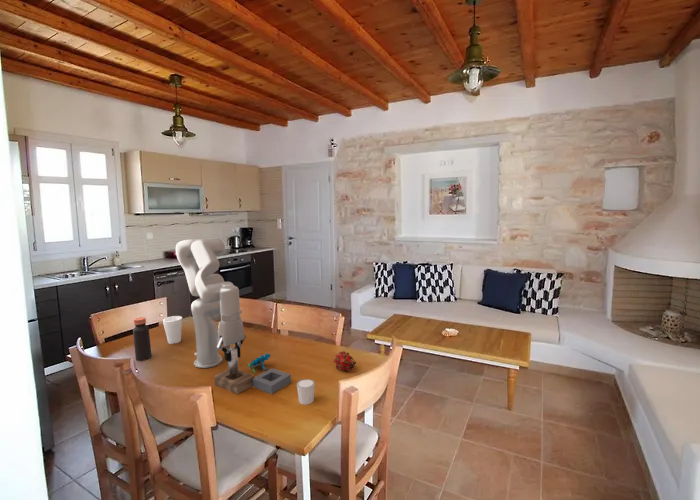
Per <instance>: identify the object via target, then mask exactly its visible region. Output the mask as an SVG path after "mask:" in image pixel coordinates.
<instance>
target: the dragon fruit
mask: <svg viewBox="0 0 700 500" xmlns="http://www.w3.org/2000/svg"><path fill="white" fill-rule="evenodd" d="M333 363H335V367H336V368H335V369H337V370H339V369H340V370H341V371H342V372H343V373H349V371H353V370H354V368H355V367H354V366H356V364H357V361H355V360H354V357H353V356H352V355H350V352H346V351H345V350H342V351H339V352H338V353H337V354H336V355H335V358H333ZM348 370H349V371H348Z"/></svg>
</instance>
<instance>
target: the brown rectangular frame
mask: <svg viewBox="0 0 700 500" xmlns="http://www.w3.org/2000/svg"><path fill="white" fill-rule="evenodd" d="M238 370H239V371H238V372H237V373H235V374H229V373H228V369H226V370H223V371H222V372H220V373H217V374H215V375H214V386H217V387H220V388H222V389H224V390H226V391H227V392H228V391H229V392H230V393H233V394H235V395H239V394H241V393H243V392H244V391H247V390H248V389H250V388H251V387H253V382H252V379H253V378H255V375H253V374H251V373H248V372H245V371H243V370H240V369H238Z"/></svg>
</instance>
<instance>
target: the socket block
mask: <svg viewBox="0 0 700 500" xmlns="http://www.w3.org/2000/svg"><path fill="white" fill-rule="evenodd" d="M291 379H292V376H291V374H290V373H287V372H284V371H282V370H278V369H276V368H269V369H268V370H265V371H264V372H262V373H259V374H258V375H257V376H254V378H253V379H252V382H253V386H252V387H253V388H256V389H258V390H260V391H263V392H265V393H268V394H269V395H273V394H274V393H276V392H279V390H282V388H283V389H284V387H286V386H287V385H290V384H291V382H292V380H291Z"/></svg>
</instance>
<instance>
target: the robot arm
mask: <svg viewBox="0 0 700 500" xmlns="http://www.w3.org/2000/svg"><path fill="white" fill-rule="evenodd" d="M225 252H226V246H225V243H224V241H223V240H222V239H221V238H220V237H206V238H204V237H203V238H191V239H189V238H188V239H183V240H181V241H178V242H177V243H176V245H175V254H176V258H177V261H178V262H179V264H180V266H181V267H182V269H183V271H184V274H185V278H186V282H187V285H188V289H189V292H190V294H191V296H194V297H199V298H197V299H195V300H194V301H192V303H191V305H190V310H191V315H192V317H193V324H194V333H195V345H196V352H194V356H196V359H195V360H194V361H193V365H194V367H196V368H198V369H209V368H214V367H216V366H218V365H220V364H221V363H222V362H223V357H222V356H221V355H220V353H219V350H220V351H222V352H223V354H224V360H225V361H226V362H227V363H228V362H231V352H229V351H230V347H231V345H234V347H237V351H238V359H239V358H241V348H242V345H243V343H244V341H245V340H246V339H247V335H245V328H244V324H243V323H244V322H243V319H242V317H241V314H242V310H241V303H240V289H239V287H238V286H236V285H234V283H233V282H231V281H225V280H224V277H223V276H222V275H221V274H219V273H216V272H217V271H218V269H219V268H220V261H219V259H218V256H219V257H220V256H223V255H224V254H225ZM216 316H220V321H218V325H217V324H216V322H215V321H214V320H212V318H213V317H216ZM217 330H218V337H217Z"/></svg>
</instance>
